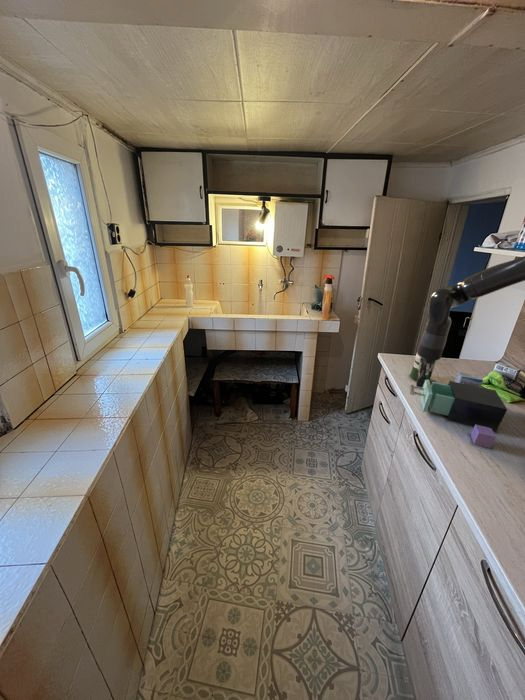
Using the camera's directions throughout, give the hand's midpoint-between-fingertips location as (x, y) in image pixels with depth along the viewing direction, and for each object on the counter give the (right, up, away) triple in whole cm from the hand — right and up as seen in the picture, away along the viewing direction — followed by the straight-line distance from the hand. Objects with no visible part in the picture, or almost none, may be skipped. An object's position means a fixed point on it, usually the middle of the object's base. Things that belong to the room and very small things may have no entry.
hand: (419, 386), depth 106 cm
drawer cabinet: (+16, -11, -3) cm, 19 cm away
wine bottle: (+12, +1, +21) cm, 25 cm away
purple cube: (+11, -16, -15) cm, 25 cm away
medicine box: (+24, -5, +11) cm, 27 cm away
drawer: (+6, -8, +1) cm, 10 cm away
